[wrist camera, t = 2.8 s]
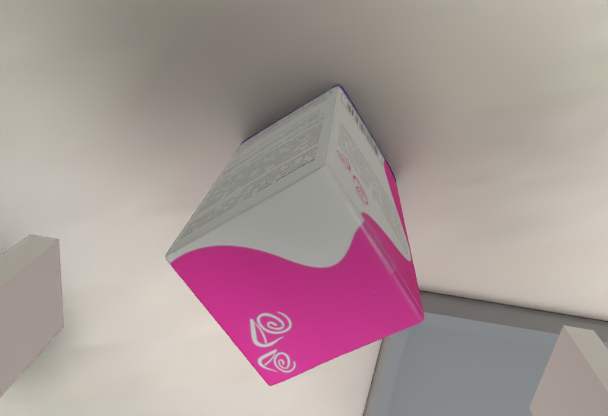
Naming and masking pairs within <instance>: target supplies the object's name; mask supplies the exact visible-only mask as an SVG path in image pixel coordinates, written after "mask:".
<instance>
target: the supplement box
mask: <svg viewBox="0 0 608 416" xmlns="http://www.w3.org/2000/svg"><path fill="white" fill-rule="evenodd" d="M165 258H166V260H167V261H168V262H169V263H170V264H171V266H172V267H173V268H174V270H175V271H176V272H177V274H178V275H179V276H180V277H181V278H182V279H183V280H184V282H185V283H186V284H187V286H188V287H189V288H190V289H191V291H192V292H193V293H194V294H195V296H196V297H197V298H198V299H199V300H200V302H201V303H202V304H203V305H204V307H205V308H206V309H207V310H208V311H209V313H210V314H211V315H212V316H213V318H214V319H215V320H216V321H217V323H218V324H219V325H220V326H221V327H222V329H223V330H224V331H225V332H226V333H227V335H228V336H229V337H230V338H231V340H232V341H233V342H234V343H235V345H236V346H237V347H238V348H239V349H240V351H241V352H242V353H243V354H244V356H245V357H246V358H247V359H248V361H249V362H250V363H251V364H252V366H253V367H254V368H255V369H256V371H257V372H258V373H259V374H260V375H261V377H262V378H263V379H264V380H265V382H266V383H267V384H268V385H269V386H272V385H275V384H277V383H280V382H283V381H285V380H287V379H290V378H292V377H294V376H297V375H299V374H301V373H303V372H305V371H308V370H310V369H312V368H314V367H316V366H318V365H320V364H322V363H325V362H327V361H329V360H331V359H334V358H336V357H339V356H341V355H343V354H346V353H348V352H351V351H353V350H356V349H358V348H360V347H363V346H365V345H368V344H370V343H373V342H375V341H377V340H380V339H382V338H385V337H387V336H390V335H392V334H395V333H397V332H400V331H402V330H404V329H407V328H409V327H412V326H414V325H417V324H419V323H421V322H423V321H424V312H423V307H422V302H421V297H420V293H419V288H418V284H417V279H416V274H415V269H414V264H413V260H412V255H411V251H410V246H409V242H408V237H407V232H406V228H405V223H404V218H403V214H402V209H401V204H400V199H399V194H398V190H397V185H396V179H395V177H394V174H393V172H392V170H391V169H390V167H389V165H388V163H387V161H386V159H385V158H384V156H383V154H382V152H381V151H380V149H379V147H378V146H377V144H376V142H375V140H374V139H373V137H372V135H371V134H370V132H369V130H368V129H367V127H366V125H365V123H364V122H363V120H362V118H361V117H360V115H359V113H358V112H357V110H356V108H355V107H354V105H353V103H352V102H351V100H350V99H349V97H348V95H347V94H346V92H345V91H344V89H343V87H342V86H341V84H338V85H336V86H334V87H333V88H331V89H329V90H328V91H326V92H324V93H322V94H321V95H319V96H318V97H316V98H314V99H313V100H311V101H309V102H308V103H306V104H304V105H303V106H301V107H299V108H298V109H296V110H294V111H293V112H291V113H289V114H288V115H286V116H284V117H283V118H281V119H279V120H278V121H276V122H274V123H273V124H271V125H269V126H268V127H266V128H265V129H263V130H261V131H260V132H258V133H256V134H255V135H253V136H251V137H250V138H248V139H246V140H245V141H243V142H242V144H241V145H240V147H239V148H238V150H237V151H236V153H235V154H234V156H233V157H232V159H231V161H230V162H229V164H228V165H227V166H226V168H225V169H224V171H223V172H222V173H221V175H220V176H219V178H218V179H217V181H216V182H215V184H214V185H213V187H212V188H211V189H210V191H209V192H208V194H207V195H206V197H205V198H204V200H203V201H202V202H201V204H200V205H199V207H198V208H197V210H196V211H195V213H194V214H193V215H192V217H191V219H190V220H189V221H188V223H187V224H186V226H185V227H184V229H183V230H182V232H181V233H180V234H179V236H178V237H177V239H176V240H175V242H174V243H173V245H172V246H171V248H170V249H169V251H168V252H167V253H166V255H165Z"/></svg>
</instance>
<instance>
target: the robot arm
mask: <svg viewBox="0 0 608 416" xmlns="http://www.w3.org/2000/svg"><path fill="white" fill-rule="evenodd" d="M63 327H64V324H63V305H62V287H61V268H60V249H59V239H54V238H48V237H42V236H36V235H29V236H28V237H26V238H25V239H23V240H22V241H21V242H19V243H18V244H16V245H15V246H14V247H12V248H11V249H10V250H8V251H7V252H5V253H4V254H3V255H1V256H0V397H1V396H2V395H3V394H4V393H5V392H6V391H7V389H8V388H9V387H10V386H11V385H12V384H13V383H14V382H15V380H16V379H17V378H18V377H19V376H20V375H21V374H22V373H23V371H24V370H25V369H26V368H27V367H28V366H29V365H30V364H31V362H32V361H33V360H34V359H35V358H36V357H37V356H38V355H39V353H40V352H41V351H42V350H43V349H44V348H45V347H46V346H47V345H48V343H49V342H50V341H51V340H52V339H53V338H54V337H55V336H56V334H57V333H58V332H59V331H60V330H61V329H62V328H63ZM529 408H530V411H531V413H532V415H533V416H608V349H607V347H606V346H605V345H604V343H603V342H602V341H601V339H600V338H599V337H598V335H597V334H596V333H595V331H594V330H588V329H583V328H577V327H571V326H565V325H563V328H562V330H561V333H560V335H559V337H558V340H557V342H556V345H555V347H554V349H553V352H552V354H551V357H550V359H549V361H548V364H547V366H546V368H545V371H544V373H543V376H542V378H541V380H540V383H539V385H538V388H537V390H536V392H535V395H534V397H533V400H532V402H531V404H530V407H529Z"/></svg>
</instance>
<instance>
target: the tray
mask: <svg viewBox="0 0 608 416" xmlns="http://www.w3.org/2000/svg"><path fill="white" fill-rule="evenodd" d="M419 293H420V297H421V302H422V307H423V312H424V321H423V322H421V323H419V324H417V325H414V326H412V327H409V328H407V329H404V330H402V331H400V332H397V333H395V334H392V335H390V336H387V337H385V338H383V339H382V343H381V347H380V351H379V355H378V359H377V363H376V367H375V371H374V375H373V378H372V382H371V386H370V390H369V394H368V398H367V402H366V406H365V410H364V414H363V416H533V415H532V413H531V411H530V408H529V407H530V404H531V402H532V400H533V397H534V395H535V392H536V390H537V388H538V385H539V383H540V380H541V378H542V376H543V373H544V371H545V368H546V366H547V364H548V361H549V359H550V357H551V354H552V352H553V349H554V347H555V345H556V342H557V340H558V337H559V335H560V333H561V330H562V328H563V325H565V326H571V327H577V328H583V329H588V330H594V331H595V333H596V334H597V335H598V337H599V338H600V339H601V341H602V342H603V343H604V345H605V346H606V347H607V349H608V322H607V321H601V320H595V319H589V318H583V317H577V316H571V315H565V314H559V313H552V312H546V311H540V310H534V309H528V308H522V307H516V306H510V305H504V304H498V303H492V302H486V301H479V300H473V299H467V298H461V297H455V296H449V295H443V294H437V293H431V292H425V291H419Z"/></svg>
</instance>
